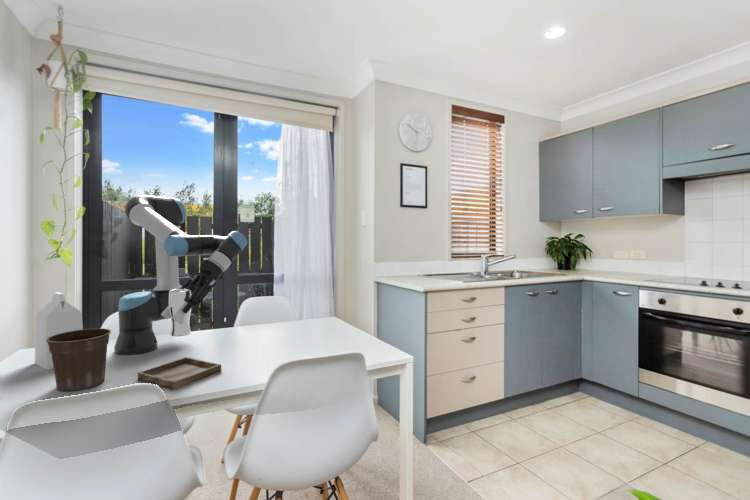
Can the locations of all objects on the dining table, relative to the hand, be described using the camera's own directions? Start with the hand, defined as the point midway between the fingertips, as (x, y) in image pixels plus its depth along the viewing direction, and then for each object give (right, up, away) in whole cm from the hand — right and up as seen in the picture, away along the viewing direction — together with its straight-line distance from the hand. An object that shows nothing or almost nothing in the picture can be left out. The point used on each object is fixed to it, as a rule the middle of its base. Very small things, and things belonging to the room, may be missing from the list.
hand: (169, 318), depth 123 cm
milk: (-50, -19, +16) cm, 56 cm away
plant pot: (-26, -21, -4) cm, 34 cm away
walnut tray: (+2, -20, +4) cm, 21 cm away
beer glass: (+2, -6, +3) cm, 7 cm away
